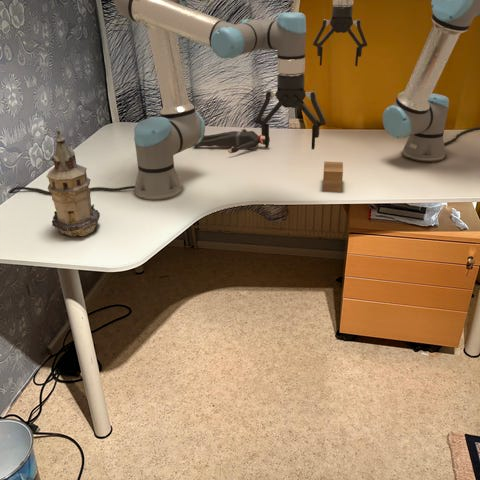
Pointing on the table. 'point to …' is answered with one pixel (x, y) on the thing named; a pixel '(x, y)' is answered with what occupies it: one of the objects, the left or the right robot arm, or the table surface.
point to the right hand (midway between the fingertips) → (338, 65)
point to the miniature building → (70, 193)
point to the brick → (332, 176)
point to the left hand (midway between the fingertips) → (289, 147)
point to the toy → (233, 140)
